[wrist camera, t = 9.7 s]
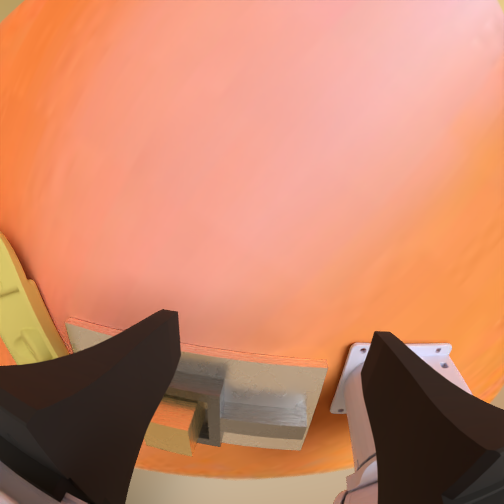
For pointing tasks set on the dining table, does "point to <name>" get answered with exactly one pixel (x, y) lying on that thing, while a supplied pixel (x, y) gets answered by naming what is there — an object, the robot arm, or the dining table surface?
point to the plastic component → (24, 314)
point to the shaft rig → (236, 390)
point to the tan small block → (176, 425)
